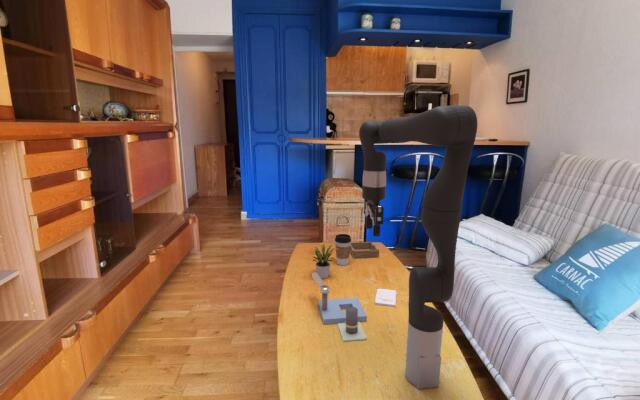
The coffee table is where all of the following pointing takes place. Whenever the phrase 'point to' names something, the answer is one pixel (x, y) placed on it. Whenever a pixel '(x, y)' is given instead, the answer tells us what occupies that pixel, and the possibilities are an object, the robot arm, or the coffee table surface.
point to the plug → (351, 320)
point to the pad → (351, 337)
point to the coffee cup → (342, 248)
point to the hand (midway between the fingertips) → (372, 232)
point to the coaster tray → (366, 253)
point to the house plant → (323, 261)
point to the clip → (321, 283)
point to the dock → (339, 309)
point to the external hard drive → (386, 297)
